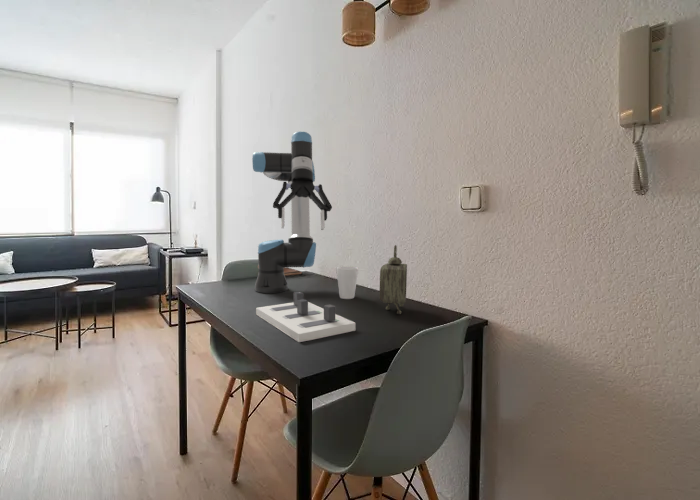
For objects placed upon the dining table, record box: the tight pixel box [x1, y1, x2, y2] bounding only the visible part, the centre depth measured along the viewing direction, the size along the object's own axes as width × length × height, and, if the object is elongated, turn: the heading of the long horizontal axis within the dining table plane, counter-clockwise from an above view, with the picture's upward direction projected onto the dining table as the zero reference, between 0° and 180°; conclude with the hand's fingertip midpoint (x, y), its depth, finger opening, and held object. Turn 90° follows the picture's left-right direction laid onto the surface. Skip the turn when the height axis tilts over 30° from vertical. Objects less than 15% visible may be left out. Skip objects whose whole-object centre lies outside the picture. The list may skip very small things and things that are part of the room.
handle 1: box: [293, 291, 304, 306], centre depth 140 cm, size 3×2×4 cm
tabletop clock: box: [379, 244, 408, 315], centre depth 144 cm, size 14×9×25 cm, turn 168°
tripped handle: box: [297, 298, 309, 315], centre depth 129 cm, size 3×2×4 cm
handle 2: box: [323, 304, 336, 321], centre depth 122 cm, size 3×2×4 cm
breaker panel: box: [255, 301, 356, 343], centre depth 129 cm, size 34×20×3 cm, turn 34°
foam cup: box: [335, 265, 359, 300], centre depth 165 cm, size 10×9×13 cm
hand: (303, 227), depth 130 cm, fingers open, 13 cm apart
